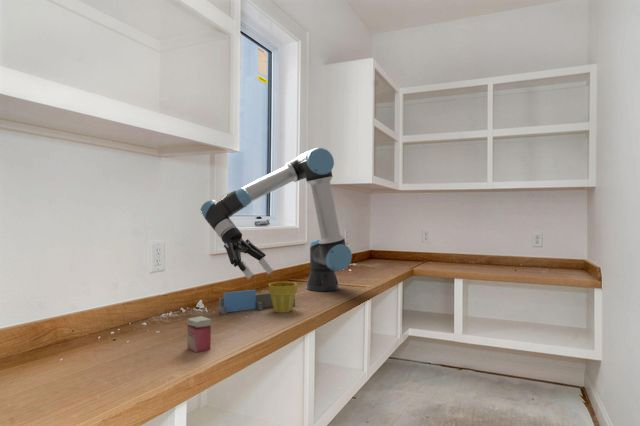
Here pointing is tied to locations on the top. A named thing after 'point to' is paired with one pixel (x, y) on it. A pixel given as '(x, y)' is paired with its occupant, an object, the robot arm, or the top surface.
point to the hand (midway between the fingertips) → (261, 274)
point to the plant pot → (282, 295)
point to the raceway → (244, 301)
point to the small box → (199, 334)
